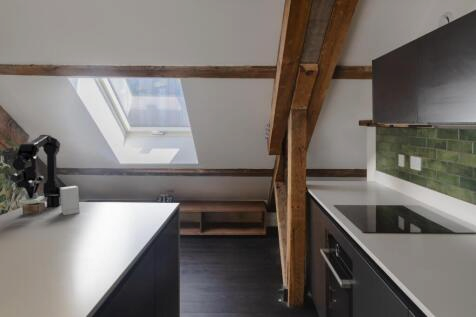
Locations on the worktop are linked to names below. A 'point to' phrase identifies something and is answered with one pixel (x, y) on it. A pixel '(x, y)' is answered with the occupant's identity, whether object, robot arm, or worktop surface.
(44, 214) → the mat
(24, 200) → the lid
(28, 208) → the box
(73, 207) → the skincare box
